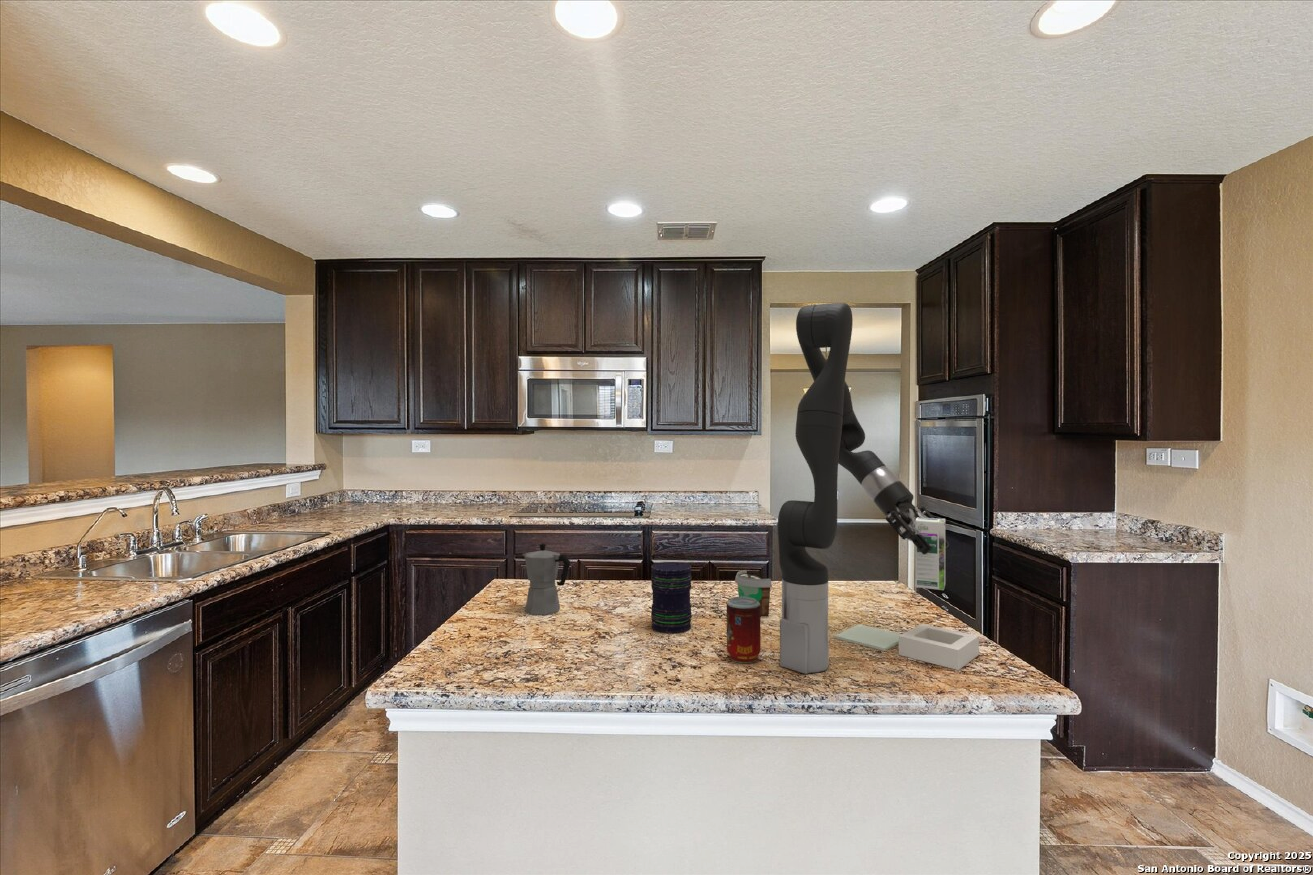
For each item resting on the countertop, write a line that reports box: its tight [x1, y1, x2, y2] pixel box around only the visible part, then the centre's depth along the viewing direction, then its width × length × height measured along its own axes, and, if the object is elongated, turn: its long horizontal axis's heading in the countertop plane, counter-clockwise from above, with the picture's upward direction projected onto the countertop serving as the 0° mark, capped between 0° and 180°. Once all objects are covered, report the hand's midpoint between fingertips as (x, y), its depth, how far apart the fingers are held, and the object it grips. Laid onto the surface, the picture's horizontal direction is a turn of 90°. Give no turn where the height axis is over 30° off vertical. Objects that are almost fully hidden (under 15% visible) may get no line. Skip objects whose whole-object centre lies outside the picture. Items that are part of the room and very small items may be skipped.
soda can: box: [726, 596, 762, 664], centre depth 126 cm, size 7×7×12 cm
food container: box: [734, 569, 773, 617], centre depth 159 cm, size 12×6×10 cm, turn 25°
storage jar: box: [650, 561, 692, 635], centre depth 147 cm, size 10×10×15 cm
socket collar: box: [898, 623, 980, 671], centre depth 128 cm, size 12×12×4 cm
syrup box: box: [914, 517, 946, 591], centre depth 129 cm, size 6×6×14 cm
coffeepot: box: [522, 542, 571, 616], centre depth 161 cm, size 15×9×18 cm, turn 62°
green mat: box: [833, 623, 902, 652], centre depth 139 cm, size 12×12×1 cm
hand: (937, 549), depth 128 cm, fingers closed on syrup box, 7 cm apart
